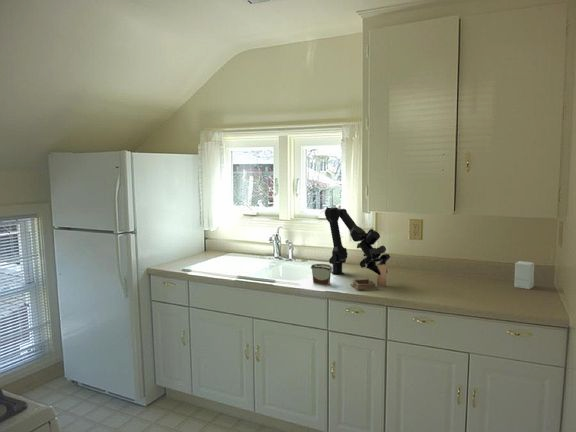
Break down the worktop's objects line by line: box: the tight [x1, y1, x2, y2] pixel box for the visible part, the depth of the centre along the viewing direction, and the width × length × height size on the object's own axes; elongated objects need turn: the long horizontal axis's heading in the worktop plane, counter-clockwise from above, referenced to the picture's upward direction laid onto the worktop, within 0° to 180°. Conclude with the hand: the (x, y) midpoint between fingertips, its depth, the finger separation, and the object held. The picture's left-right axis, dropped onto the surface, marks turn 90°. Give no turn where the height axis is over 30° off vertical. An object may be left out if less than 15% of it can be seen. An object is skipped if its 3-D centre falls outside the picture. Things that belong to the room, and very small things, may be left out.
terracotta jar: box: [376, 263, 387, 288], centre depth 231 cm, size 5×5×11 cm
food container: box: [310, 263, 333, 286], centre depth 237 cm, size 12×6×10 cm, turn 56°
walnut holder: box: [350, 278, 379, 292], centre depth 228 cm, size 11×11×3 cm
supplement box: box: [513, 260, 535, 290], centre depth 225 cm, size 7×7×13 cm
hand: (383, 273), depth 230 cm, fingers closed on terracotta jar, 5 cm apart
